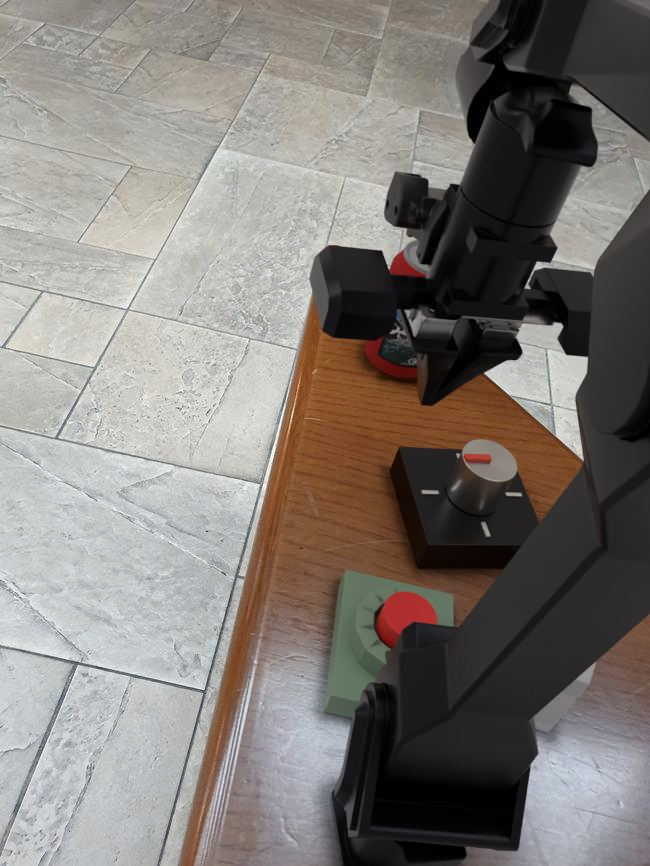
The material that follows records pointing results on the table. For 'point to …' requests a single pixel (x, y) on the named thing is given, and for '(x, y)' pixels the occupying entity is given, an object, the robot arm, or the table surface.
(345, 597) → the switch block
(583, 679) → the light switch
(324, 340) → the table surface
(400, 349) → the beverage can
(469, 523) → the dimmer panel
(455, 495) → the dimmer knob
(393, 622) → the light button
